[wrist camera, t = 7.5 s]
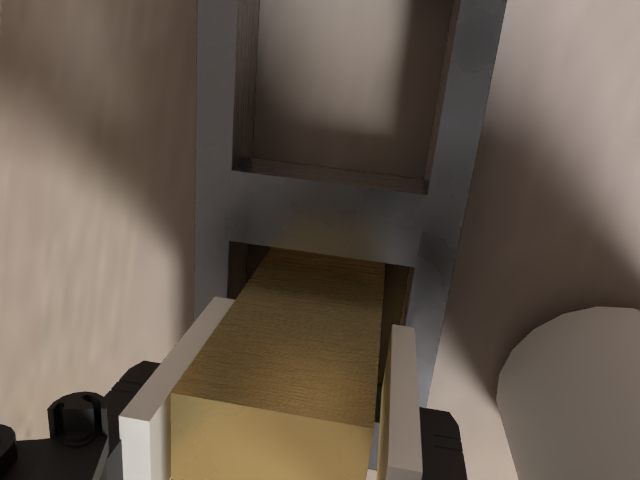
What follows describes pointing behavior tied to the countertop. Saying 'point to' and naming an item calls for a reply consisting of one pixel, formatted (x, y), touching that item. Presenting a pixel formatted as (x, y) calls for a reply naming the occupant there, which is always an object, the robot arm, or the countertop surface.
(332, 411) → the brass block
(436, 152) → the rack
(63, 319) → the countertop surface
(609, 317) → the can
